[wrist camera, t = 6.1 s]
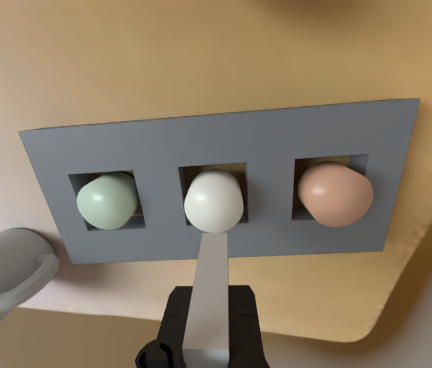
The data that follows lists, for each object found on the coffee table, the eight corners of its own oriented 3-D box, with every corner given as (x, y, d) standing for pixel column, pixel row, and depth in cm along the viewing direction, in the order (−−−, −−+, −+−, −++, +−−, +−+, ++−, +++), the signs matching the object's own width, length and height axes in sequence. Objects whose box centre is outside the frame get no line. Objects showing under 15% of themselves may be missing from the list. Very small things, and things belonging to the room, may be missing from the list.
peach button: (295, 210, 20) (307, 228, 18) (298, 162, 19) (312, 173, 16) (347, 208, 20) (367, 225, 17) (355, 159, 18) (378, 169, 16)
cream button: (193, 216, 21) (188, 234, 18) (186, 170, 19) (180, 182, 16) (241, 213, 21) (244, 231, 18) (239, 166, 19) (242, 178, 16)
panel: (86, 249, 25) (72, 264, 23) (41, 128, 20) (18, 131, 18) (366, 236, 23) (382, 251, 21) (395, 98, 18) (420, 98, 16)
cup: (-15, 228, 25) (-137, 293, 16) (67, 222, 24) (-17, 286, 16) (13, 276, 27) (-80, 353, 19) (87, 271, 26) (25, 349, 18)
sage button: (103, 215, 23) (86, 230, 20) (89, 172, 21) (69, 183, 18) (146, 212, 22) (135, 228, 20) (136, 169, 21) (123, 180, 18)
